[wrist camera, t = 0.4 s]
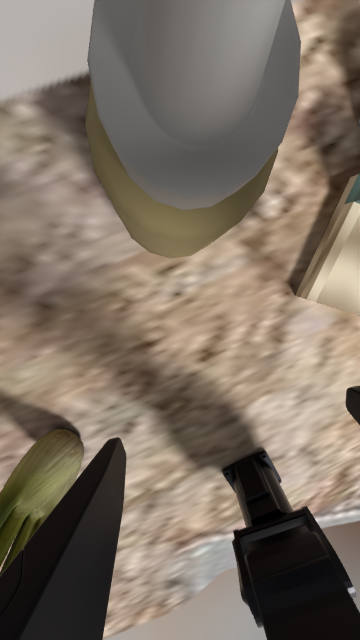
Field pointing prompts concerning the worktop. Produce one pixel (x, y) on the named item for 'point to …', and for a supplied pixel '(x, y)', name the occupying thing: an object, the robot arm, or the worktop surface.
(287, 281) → the worktop surface
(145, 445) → the worktop surface
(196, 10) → the squeeze bottle
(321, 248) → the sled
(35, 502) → the fennel bulb
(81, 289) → the worktop surface
